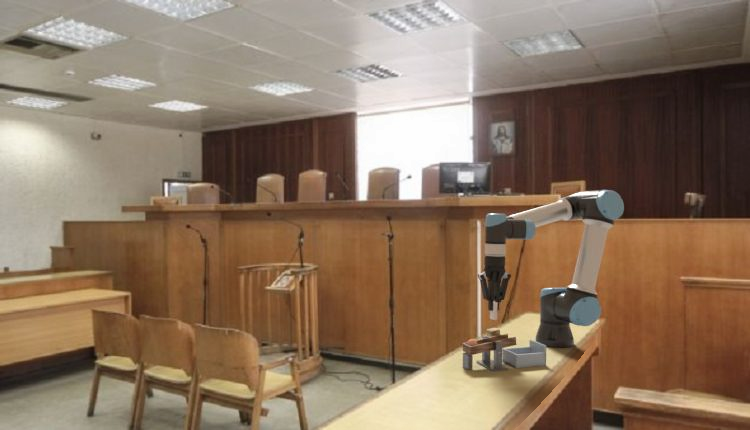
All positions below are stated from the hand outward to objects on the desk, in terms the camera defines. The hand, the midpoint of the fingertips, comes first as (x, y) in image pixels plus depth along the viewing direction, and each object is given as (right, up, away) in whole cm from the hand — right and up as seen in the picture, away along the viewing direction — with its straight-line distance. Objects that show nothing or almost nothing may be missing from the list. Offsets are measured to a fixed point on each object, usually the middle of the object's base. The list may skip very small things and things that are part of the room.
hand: (493, 319), depth 198 cm
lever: (-5, -8, -7) cm, 11 cm away
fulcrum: (-6, -14, -11) cm, 19 cm away
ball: (-9, -8, -12) cm, 17 cm away
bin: (+10, -15, -6) cm, 18 cm away
